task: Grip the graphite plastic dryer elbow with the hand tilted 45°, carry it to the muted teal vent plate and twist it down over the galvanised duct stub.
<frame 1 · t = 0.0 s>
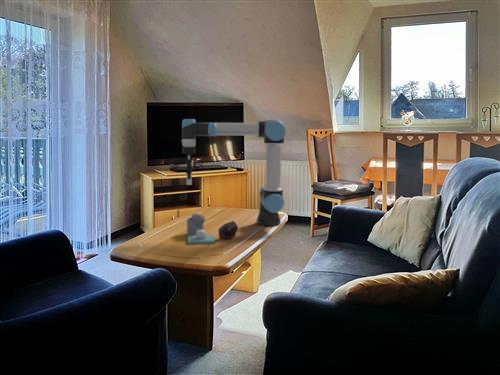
hand: (189, 183, 255), 28 cm above the table, tool pointing down, fingers open, 13 cm apart
rock: (229, 238, 245), on the table
elbow: (195, 234, 251), on the table
vent plate: (201, 240, 237), on the table
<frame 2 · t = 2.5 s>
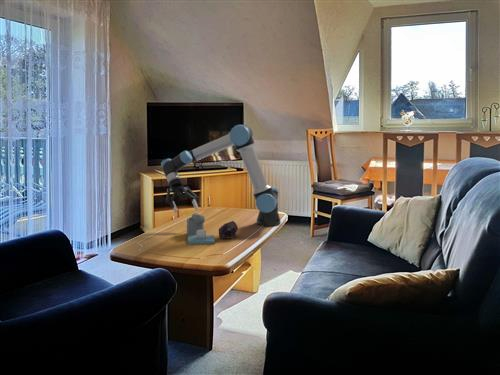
hand: (186, 210, 255), 12 cm above the table, tool tilted 45°, fingers open, 13 cm apart
nothing on the table moved.
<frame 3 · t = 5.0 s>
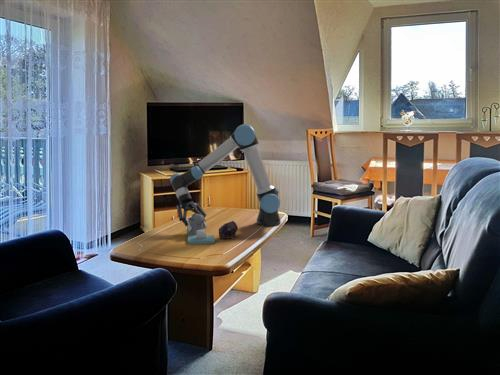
hand: (198, 228, 247), 4 cm above the table, tool tilted 45°, fingers closed on elbow, 9 cm apart
elbow: (195, 234, 251), on the table, touching gripper
everything else where it was.
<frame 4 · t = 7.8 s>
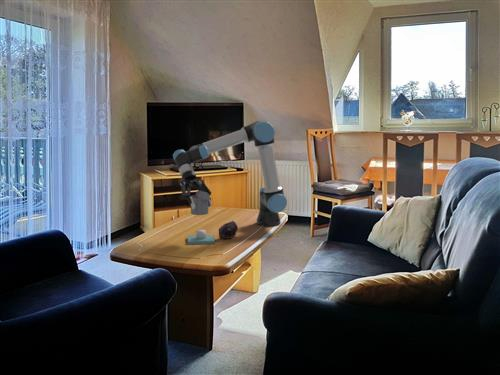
hand: (202, 207, 233), 19 cm above the table, tool tilted 45°, fingers closed on elbow, 9 cm apart
elbow: (199, 213, 236), point 15 cm above the table, touching gripper
everything else where it was.
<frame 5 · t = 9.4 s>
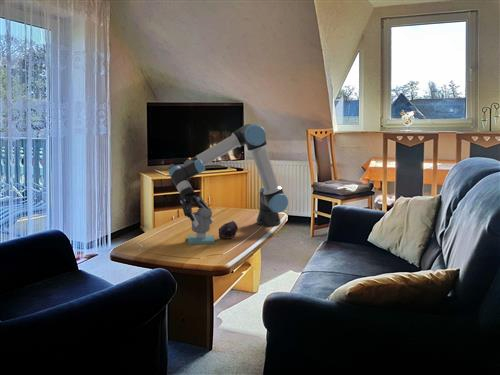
hand: (204, 224, 234), 10 cm above the table, tool tilted 45°, fingers closed on elbow, 9 cm apart
elbow: (200, 230, 237), point 6 cm above the table, touching gripper
everything else where it was.
when the fingers open (7 cm above the table, at t = 10.5 s): elbow drops 1 cm, resting on vent plate.
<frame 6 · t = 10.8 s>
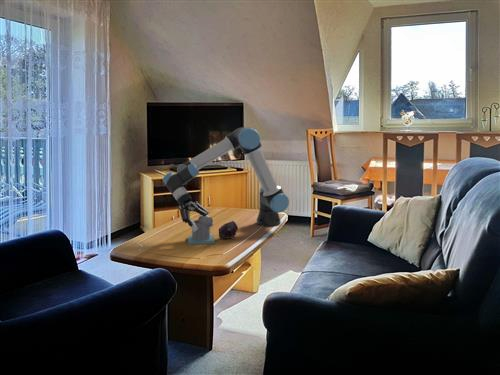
hand: (204, 228, 235), 7 cm above the table, tool tilted 45°, fingers open, 13 cm apart
elbow: (201, 238, 237), point 1 cm above the table, touching vent plate
everything else where it was.
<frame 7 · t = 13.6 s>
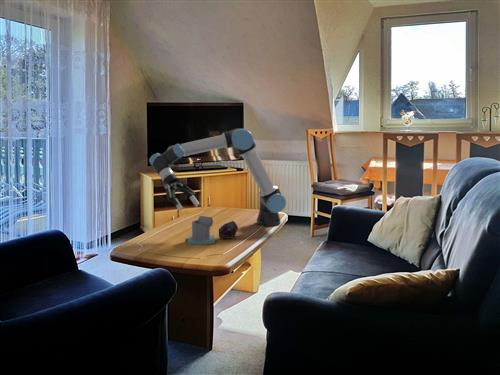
hand: (189, 207, 239), 17 cm above the table, tool tilted 45°, fingers open, 13 cm apart
nothing on the table moved.
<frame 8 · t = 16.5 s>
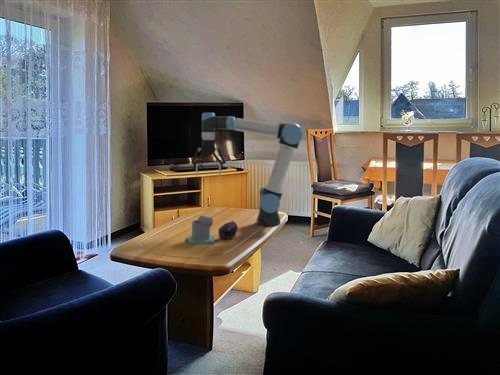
hand: (208, 175, 261), 32 cm above the table, tool pointing down, fingers open, 13 cm apart
nothing on the table moved.
at the end: elbow 0.1 cm from the vent plate (horizontally); elbow point 1.5 cm above the table; elbow tilted 0° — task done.
